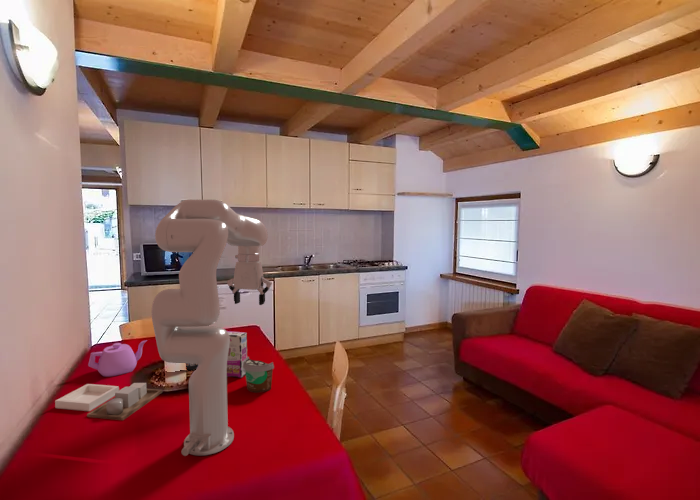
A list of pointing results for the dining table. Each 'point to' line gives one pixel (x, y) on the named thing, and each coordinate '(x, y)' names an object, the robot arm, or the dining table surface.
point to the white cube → (140, 388)
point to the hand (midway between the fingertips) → (249, 303)
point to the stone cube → (128, 396)
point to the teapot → (116, 359)
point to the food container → (258, 375)
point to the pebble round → (114, 406)
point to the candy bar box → (237, 354)
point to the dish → (86, 397)
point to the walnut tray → (102, 411)
